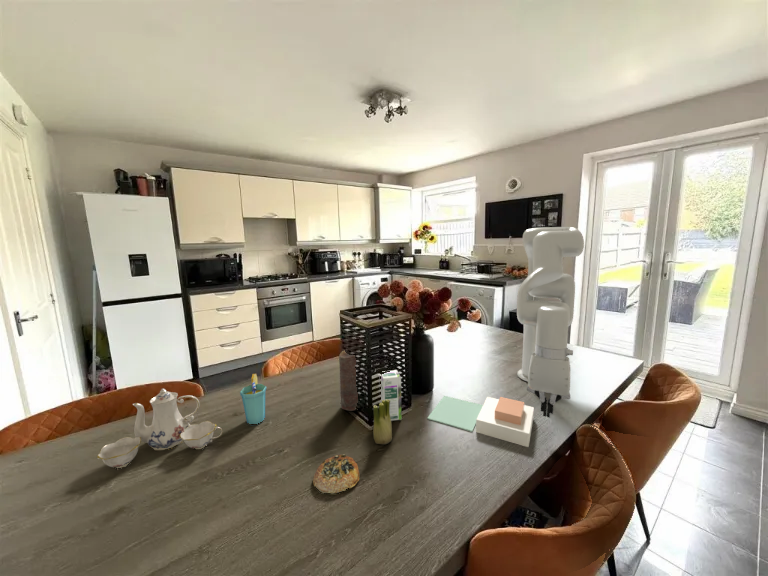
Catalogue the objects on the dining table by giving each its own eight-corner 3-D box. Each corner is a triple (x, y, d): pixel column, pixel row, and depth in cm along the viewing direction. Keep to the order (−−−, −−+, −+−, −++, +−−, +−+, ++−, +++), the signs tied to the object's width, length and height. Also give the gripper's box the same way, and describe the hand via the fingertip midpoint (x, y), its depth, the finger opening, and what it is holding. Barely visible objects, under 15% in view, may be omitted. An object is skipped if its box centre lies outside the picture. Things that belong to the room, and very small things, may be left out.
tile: (499, 404, 97) (500, 396, 96) (524, 409, 93) (524, 402, 93) (494, 418, 89) (494, 410, 89) (520, 425, 86) (521, 417, 85)
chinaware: (90, 492, 72) (75, 432, 68) (112, 445, 86) (100, 393, 82) (223, 453, 85) (217, 400, 81) (223, 417, 99) (218, 371, 95)
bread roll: (338, 454, 81) (338, 439, 80) (369, 479, 74) (370, 463, 73) (303, 481, 72) (303, 464, 71) (334, 512, 66) (334, 494, 64)
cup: (271, 430, 92) (268, 383, 90) (243, 437, 89) (239, 389, 86) (267, 408, 104) (263, 366, 102) (242, 414, 101) (238, 371, 99)
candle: (359, 415, 99) (357, 356, 96) (337, 413, 101) (335, 355, 98) (365, 403, 107) (363, 348, 104) (345, 401, 108) (343, 347, 105)
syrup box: (384, 422, 95) (383, 378, 93) (380, 412, 101) (379, 370, 98) (401, 420, 96) (401, 376, 94) (397, 410, 102) (396, 368, 100)
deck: (486, 407, 102) (487, 396, 101) (533, 419, 95) (533, 407, 95) (476, 432, 89) (476, 419, 89) (528, 447, 82) (529, 433, 82)
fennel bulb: (374, 448, 83) (373, 407, 81) (370, 437, 88) (369, 398, 86) (395, 444, 85) (394, 404, 83) (390, 434, 89) (389, 395, 87)
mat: (444, 396, 110) (444, 395, 110) (484, 406, 103) (484, 405, 103) (427, 419, 96) (427, 417, 96) (472, 432, 89) (472, 430, 89)
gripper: (582, 351, 83) (577, 415, 85) (522, 343, 90) (519, 402, 92) (584, 360, 76) (578, 429, 79) (519, 351, 84) (516, 414, 86)
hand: (546, 414), depth 85 cm, fingers closed
